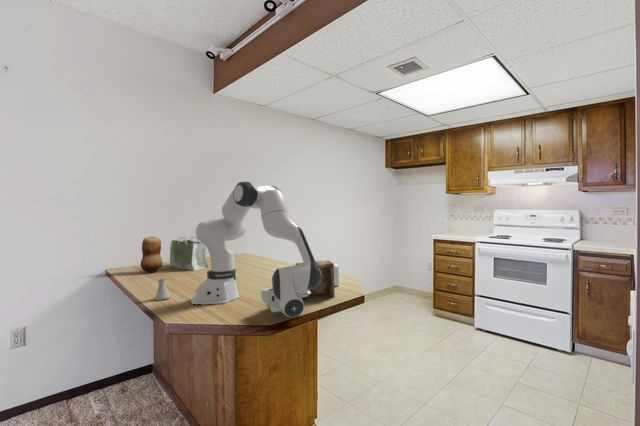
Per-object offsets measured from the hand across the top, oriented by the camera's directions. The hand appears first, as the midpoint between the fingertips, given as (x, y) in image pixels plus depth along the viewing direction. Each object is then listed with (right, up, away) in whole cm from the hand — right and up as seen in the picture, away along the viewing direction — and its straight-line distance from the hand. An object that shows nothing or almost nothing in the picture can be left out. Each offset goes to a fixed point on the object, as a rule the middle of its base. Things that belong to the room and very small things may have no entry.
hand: (282, 287), depth 141 cm
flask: (-62, -10, +17) cm, 65 cm away
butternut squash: (-102, -9, +82) cm, 131 cm away
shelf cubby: (+15, -7, +13) cm, 21 cm away
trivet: (+1, -8, -1) cm, 8 cm away
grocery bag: (-81, -8, +96) cm, 126 cm away
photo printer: (+22, -7, +31) cm, 39 cm away
